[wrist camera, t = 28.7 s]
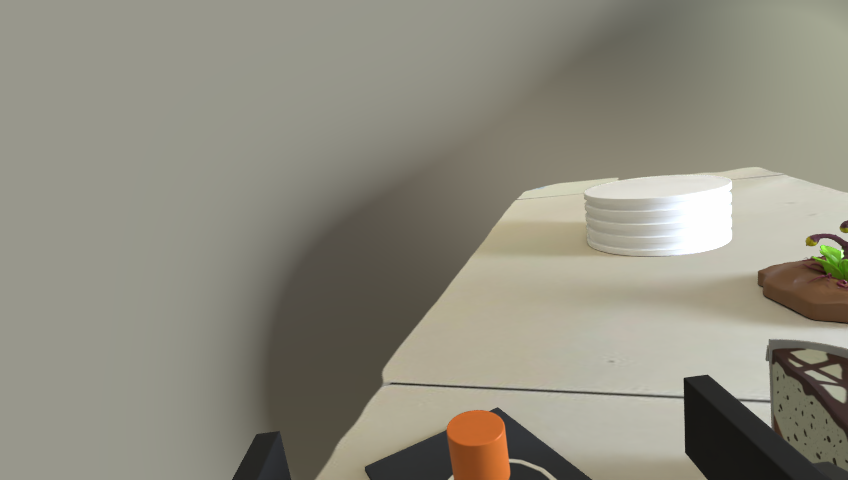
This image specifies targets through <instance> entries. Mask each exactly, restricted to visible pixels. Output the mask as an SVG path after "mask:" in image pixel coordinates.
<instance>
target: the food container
mask: <svg viewBox="0 0 848 480" xmlns="http://www.w3.org/2000/svg"><path fill="white" fill-rule="evenodd" d="M766 361H769V368H770V396H771V423H772V429H773V430H774V431H775V432H776V433H777V434H779V435H780V436H781V437H782V438H783V439H784V440H786V441H787V442H788V443H789V444H790V445H792V446H793V447H794V448H795V449H796V450H797V451H799V452H800V453H801V454H802V455H803V456H805V457H806V458H807V459H808V460H809V461H810V462H812V463H819V462H827V461H829V462H831V463H833V464H835V465H837V466H838V467H840V468H842V469H844V470H846V471H848V349H846V348H842V347H837V346H833V345H828V344H822V343H816V342H810V341H800V340H786V339H769V345H767V352H766Z"/></svg>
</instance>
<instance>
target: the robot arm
mask: <svg viewBox="0 0 848 480" xmlns="http://www.w3.org/2000/svg"><path fill="white" fill-rule="evenodd" d="M684 416H685V453H686V454H687V455H688V456H689V458H690V459H691V460H692V461H693V463H694V464H695V465H696V466H697V467H698V469H699V470H700V471H701V472H702V473H703V475H704V476H705V477H706V478H707V479H708V480H848V471H846V470H844V469H842V468H840V467H838V466H837V465H835V464H833V463H831V462H829V461H827V462H819V463H812V462H810V461H809V460H808V459H807V458H806V457H805V456H803V455H802V454H801V453H800V452H799V451H797V450H796V449H795V448H794V447H793V446H792V445H790V444H789V443H788V442H787V441H786V440H784V439H783V438H782V437H781V436H780V435H779V434H777V433H776V432H775V431H774V430H773V429H771V428H770V427H769V426H768V425H767V424H766V423H764V422H763V421H762V420H761V419H760V418H758V417H757V416H756V415H755V414H754V413H752V412H751V411H750V410H749V409H748V408H747V407H745V406H744V405H743V404H742V403H741V402H739V401H738V400H737V399H736V398H735V397H734V396H732V395H731V394H730V393H729V392H728V391H726V390H725V389H724V388H723V387H722V386H721V385H719V384H718V383H717V382H716V381H715V380H713V379H712V378H711V377H710V376H709V375H702V376H694V377H687V378H684ZM232 480H291V478H290V473H289V469H288V464H287V460H286V456H285V452H284V447H283V443H282V439H281V435H280V431H278V432H270V433H263V434H257V435H256V436H255V438H254V440H253V442H252V444H251V445H250V447H249V449H248V451H247V453H246V455H245V457H244V459H243V460H242V462H241V464H240V466H239V468H238V470H237V472H236V473H235V475H234V477H233V479H232Z"/></svg>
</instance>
